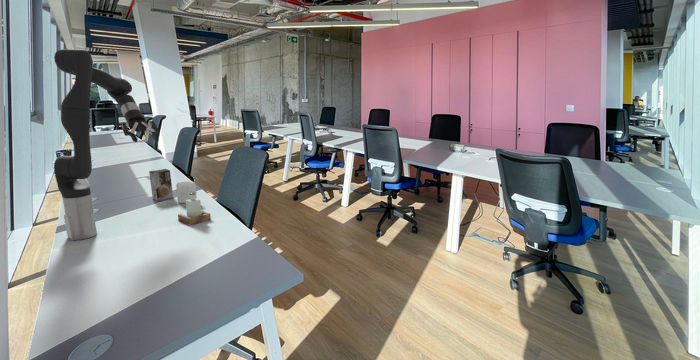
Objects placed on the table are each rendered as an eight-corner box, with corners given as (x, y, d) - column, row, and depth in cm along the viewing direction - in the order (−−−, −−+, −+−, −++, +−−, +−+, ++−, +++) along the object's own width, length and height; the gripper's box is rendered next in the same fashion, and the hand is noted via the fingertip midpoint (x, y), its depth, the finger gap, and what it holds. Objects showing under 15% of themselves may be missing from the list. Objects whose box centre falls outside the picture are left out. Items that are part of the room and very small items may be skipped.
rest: (190, 225, 162) (189, 219, 161) (178, 220, 168) (177, 214, 167) (210, 219, 169) (210, 213, 169) (198, 215, 176) (198, 209, 175)
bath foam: (76, 210, 182) (69, 171, 178) (77, 207, 188) (71, 169, 184) (93, 208, 186) (87, 170, 182) (93, 205, 192) (87, 168, 188)
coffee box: (168, 195, 211) (165, 168, 208) (173, 197, 208) (170, 169, 204) (152, 198, 205) (148, 170, 201) (157, 200, 201) (153, 172, 197)
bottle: (192, 220, 165) (190, 194, 162) (187, 218, 168) (184, 193, 165) (201, 218, 169) (199, 192, 166) (196, 216, 171) (194, 191, 169)
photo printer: (198, 202, 198) (196, 180, 196) (194, 204, 194) (192, 181, 192) (181, 201, 200) (179, 179, 197) (176, 203, 196) (174, 181, 193)
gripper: (117, 109, 162) (131, 136, 158) (150, 108, 173) (164, 133, 169) (114, 120, 166) (127, 147, 162) (146, 119, 177) (160, 144, 173)
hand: (146, 140), depth 165 cm, fingers open, 8 cm apart
